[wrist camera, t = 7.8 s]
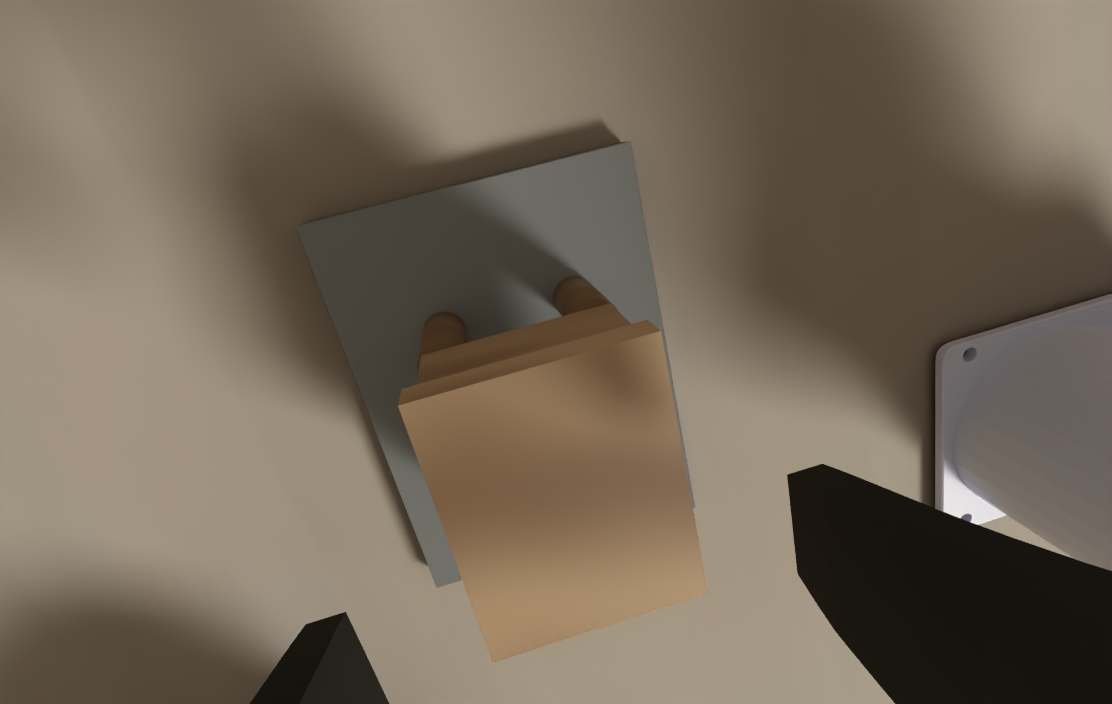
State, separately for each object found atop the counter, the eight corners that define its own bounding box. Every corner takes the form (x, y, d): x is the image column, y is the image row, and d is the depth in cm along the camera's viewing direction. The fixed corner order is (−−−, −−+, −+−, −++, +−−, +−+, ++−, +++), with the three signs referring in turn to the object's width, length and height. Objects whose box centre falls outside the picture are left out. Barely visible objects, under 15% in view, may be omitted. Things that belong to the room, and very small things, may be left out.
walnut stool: (630, 461, 19) (707, 593, 13) (480, 506, 18) (492, 662, 13) (589, 270, 16) (661, 331, 11) (417, 318, 16) (397, 405, 10)
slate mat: (621, 142, 16) (630, 141, 15) (685, 494, 20) (694, 507, 20) (302, 223, 15) (295, 227, 15) (437, 571, 20) (437, 587, 19)
